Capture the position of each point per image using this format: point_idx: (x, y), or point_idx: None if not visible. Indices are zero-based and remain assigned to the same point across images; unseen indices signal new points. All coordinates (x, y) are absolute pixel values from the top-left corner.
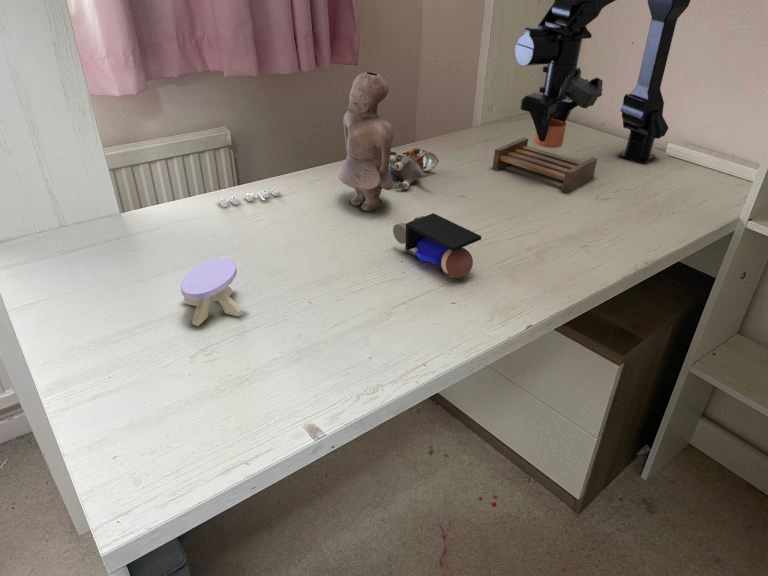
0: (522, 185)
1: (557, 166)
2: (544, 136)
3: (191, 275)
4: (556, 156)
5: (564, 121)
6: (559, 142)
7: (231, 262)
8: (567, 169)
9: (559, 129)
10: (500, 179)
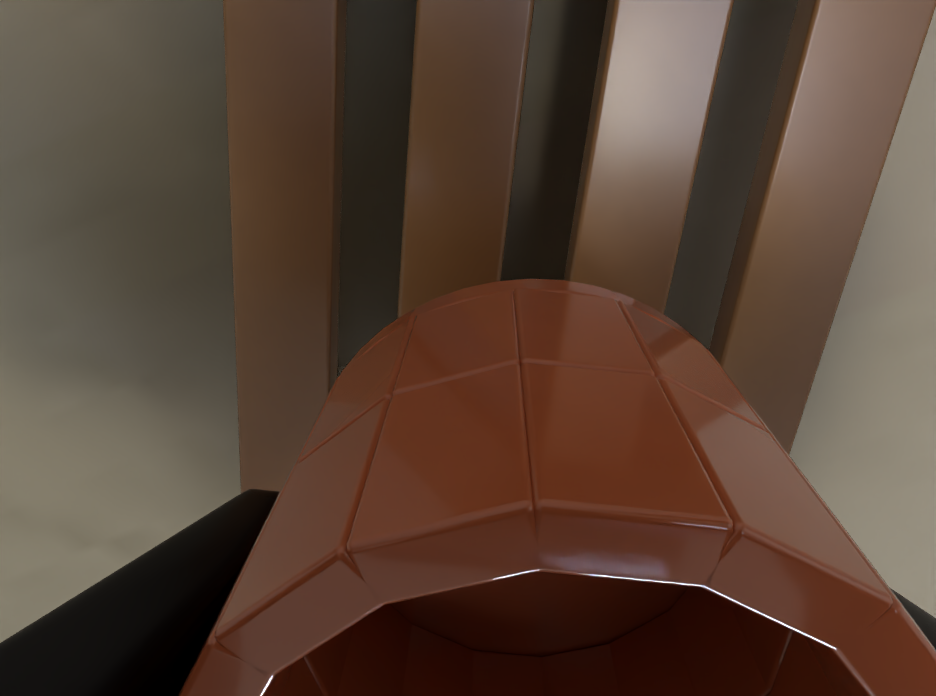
0: (914, 336)
1: (613, 173)
2: (926, 617)
3: None
4: (295, 319)
5: (74, 662)
6: (638, 321)
7: None
8: (639, 15)
9: (813, 524)
10: (871, 523)
